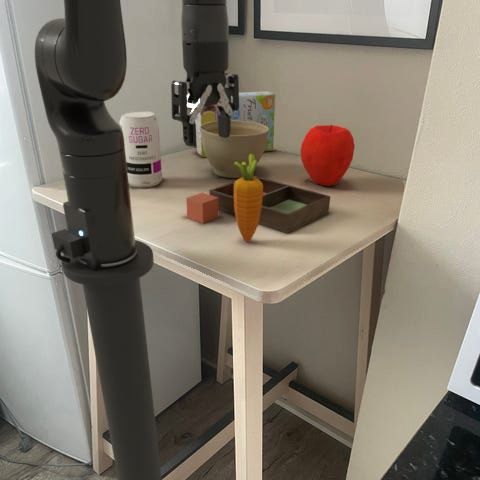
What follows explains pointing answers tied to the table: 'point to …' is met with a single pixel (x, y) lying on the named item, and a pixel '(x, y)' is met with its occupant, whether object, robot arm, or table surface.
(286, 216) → the sorting tray
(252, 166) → the carrot
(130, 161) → the supplement can
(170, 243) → the table surface
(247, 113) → the snack box
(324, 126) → the apple
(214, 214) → the terracotta block
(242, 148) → the planter bowl
